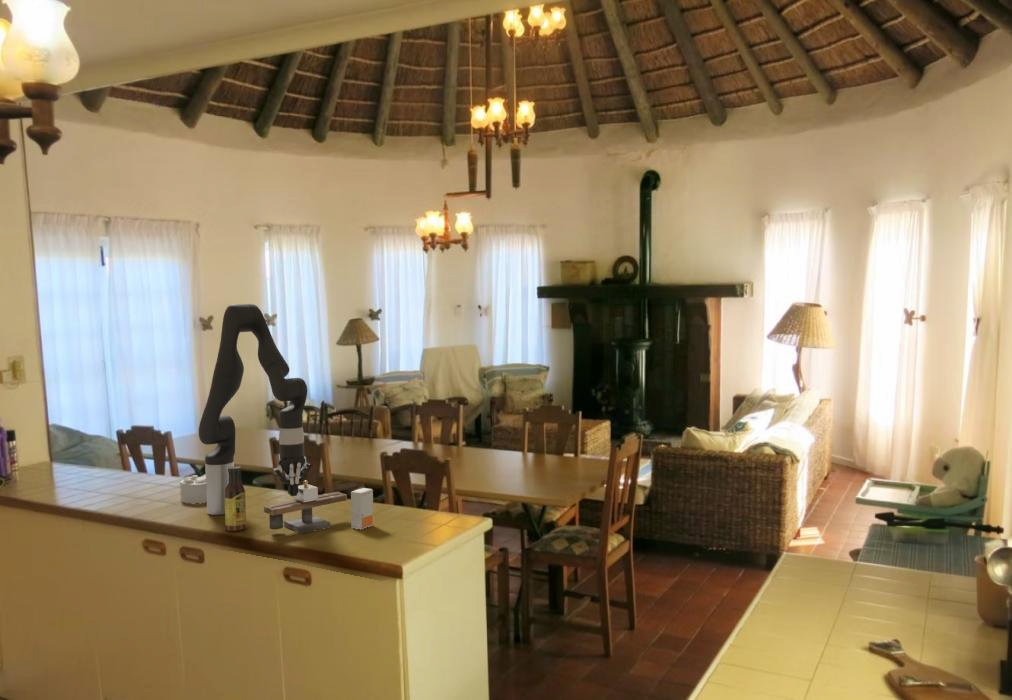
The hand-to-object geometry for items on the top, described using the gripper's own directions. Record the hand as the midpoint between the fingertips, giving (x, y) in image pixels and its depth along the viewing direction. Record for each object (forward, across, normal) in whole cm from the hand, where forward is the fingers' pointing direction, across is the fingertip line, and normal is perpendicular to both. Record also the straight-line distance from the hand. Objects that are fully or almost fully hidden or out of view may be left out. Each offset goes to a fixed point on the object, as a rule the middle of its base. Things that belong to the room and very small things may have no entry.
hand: (293, 495), depth 240 cm
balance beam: (+11, -5, 0) cm, 12 cm away
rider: (+4, -4, 0) cm, 6 cm away
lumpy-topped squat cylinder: (+11, +8, -60) cm, 62 cm away
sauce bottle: (+11, +13, -14) cm, 22 cm away
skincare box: (+11, -17, +13) cm, 24 cm away
